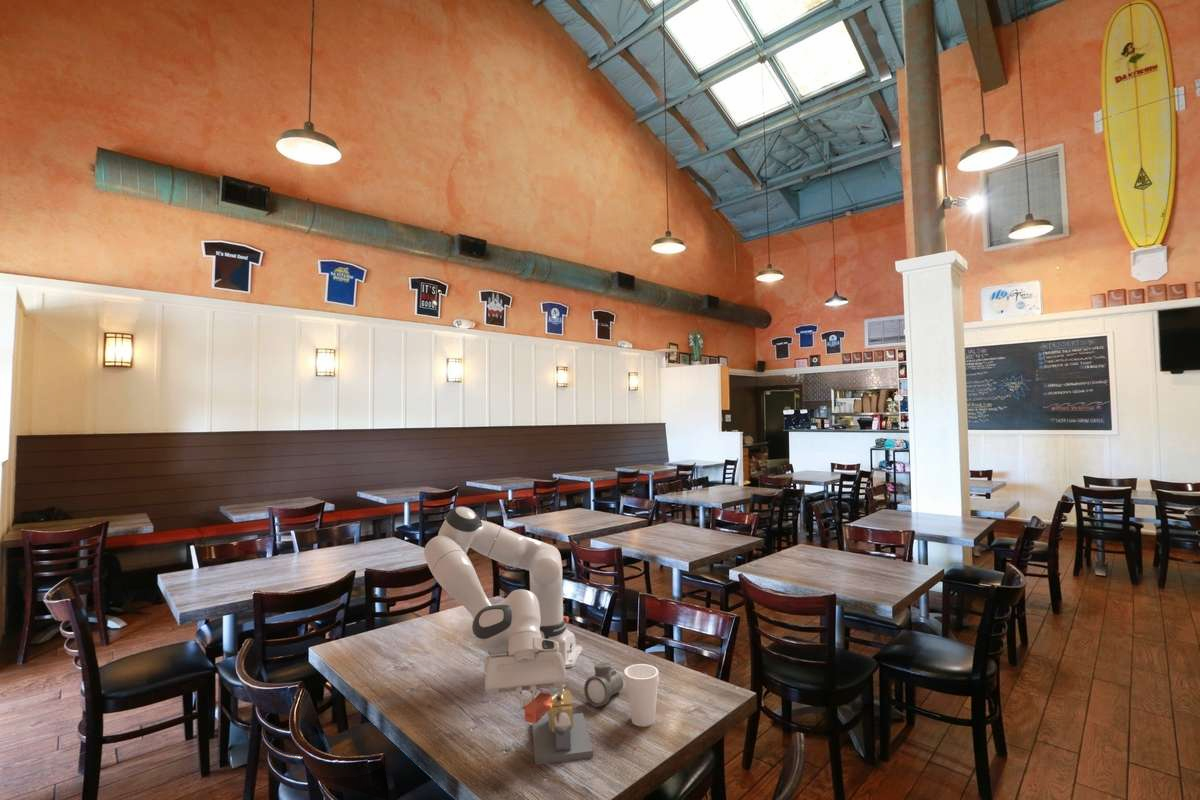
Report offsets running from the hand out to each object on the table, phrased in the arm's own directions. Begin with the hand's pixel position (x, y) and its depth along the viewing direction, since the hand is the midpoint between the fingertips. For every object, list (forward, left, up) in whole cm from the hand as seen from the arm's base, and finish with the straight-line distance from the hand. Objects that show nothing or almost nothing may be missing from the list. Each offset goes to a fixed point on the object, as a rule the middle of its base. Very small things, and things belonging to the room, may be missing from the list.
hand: (526, 708), depth 130 cm
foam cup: (-28, +20, -13) cm, 36 cm away
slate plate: (-12, +3, -13) cm, 18 cm away
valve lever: (-5, +3, -1) cm, 6 cm away
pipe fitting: (-36, +6, -13) cm, 38 cm away
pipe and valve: (-12, +3, -11) cm, 16 cm away
